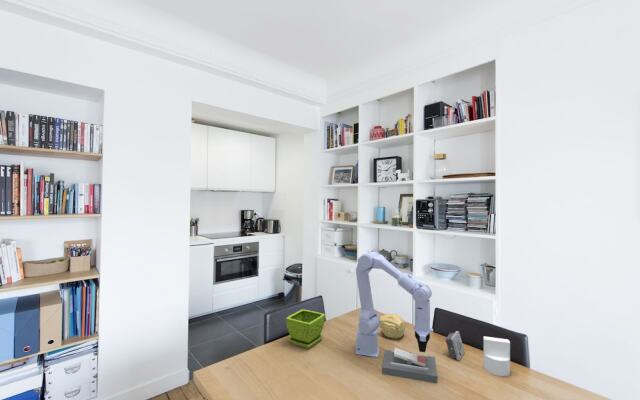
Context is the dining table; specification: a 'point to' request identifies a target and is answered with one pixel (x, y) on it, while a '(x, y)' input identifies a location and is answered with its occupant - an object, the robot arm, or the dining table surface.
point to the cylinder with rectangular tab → (497, 356)
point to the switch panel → (410, 367)
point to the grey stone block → (455, 345)
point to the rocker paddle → (409, 357)
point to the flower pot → (305, 327)
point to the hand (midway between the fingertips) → (422, 351)
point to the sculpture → (392, 325)
